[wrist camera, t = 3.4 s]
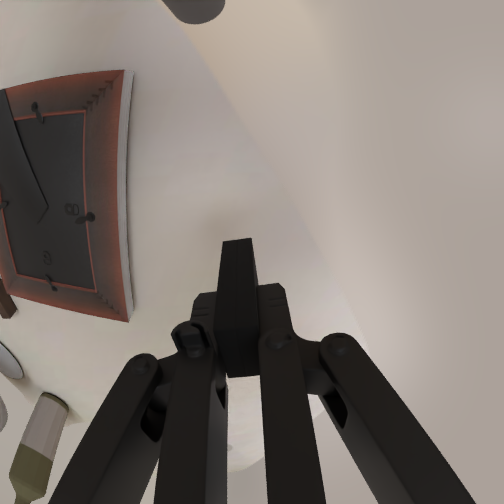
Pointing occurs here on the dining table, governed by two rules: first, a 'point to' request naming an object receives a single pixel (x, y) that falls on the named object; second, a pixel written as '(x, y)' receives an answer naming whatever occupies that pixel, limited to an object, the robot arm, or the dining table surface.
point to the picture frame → (66, 192)
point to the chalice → (8, 365)
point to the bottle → (38, 449)
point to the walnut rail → (6, 303)
